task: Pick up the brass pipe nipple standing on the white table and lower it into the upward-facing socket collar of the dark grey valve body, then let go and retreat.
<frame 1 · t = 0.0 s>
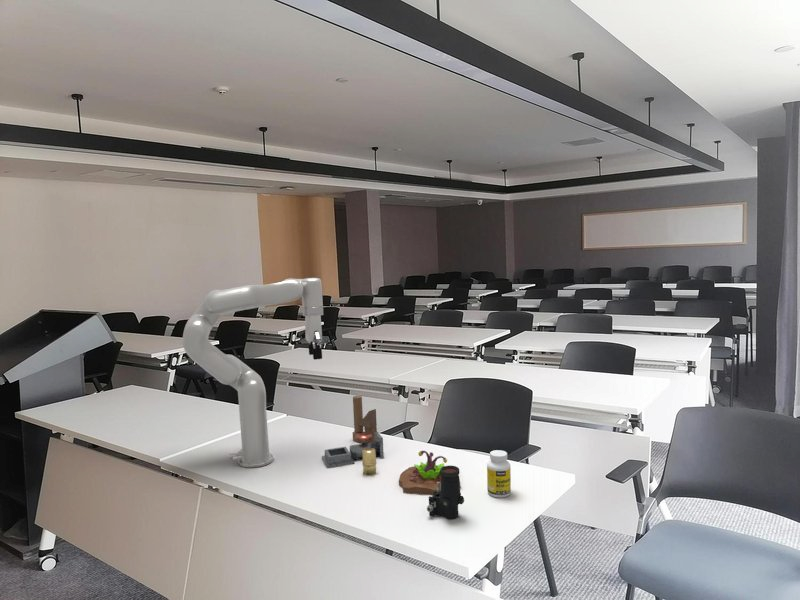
hand: (315, 356, 215), 37 cm above the table, tool pointing down, fingers open, 9 cm apart
wooden block: (365, 442, 227), on the table
nipple: (369, 473, 197), on the table
supplement bottle: (499, 493, 177), on the table
valve body: (337, 461, 208), on the table
plant: (429, 484, 187), on the table
scope: (447, 515, 164), on the table
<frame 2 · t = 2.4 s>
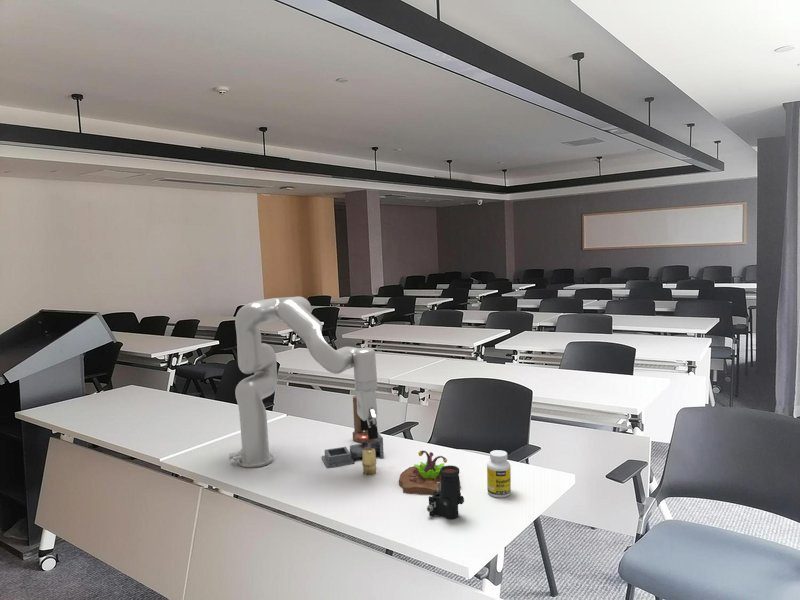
hand: (369, 434, 195), 14 cm above the table, tool pointing down, fingers open, 9 cm apart
nothing on the table moved.
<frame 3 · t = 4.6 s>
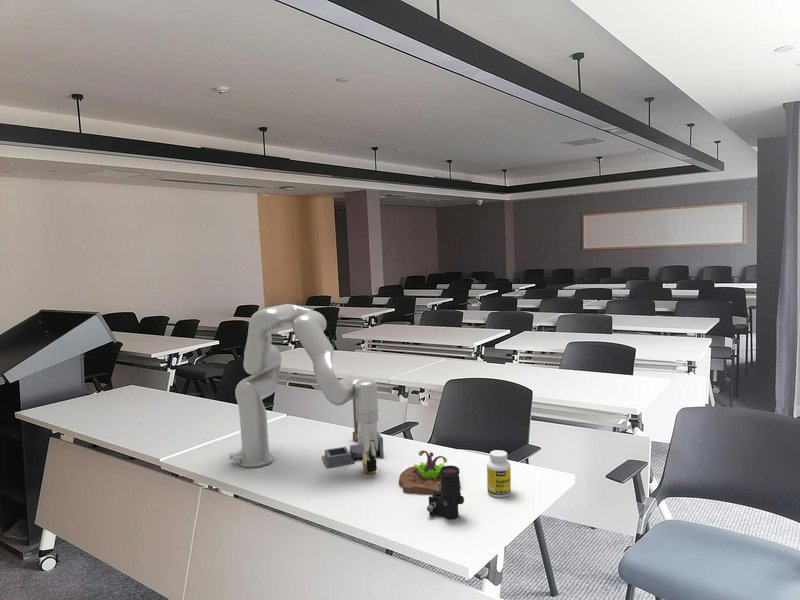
hand: (369, 467, 196), 2 cm above the table, tool pointing down, fingers closed on nipple, 4 cm apart
nipple: (369, 473, 197), on the table, touching gripper
everything else where it was.
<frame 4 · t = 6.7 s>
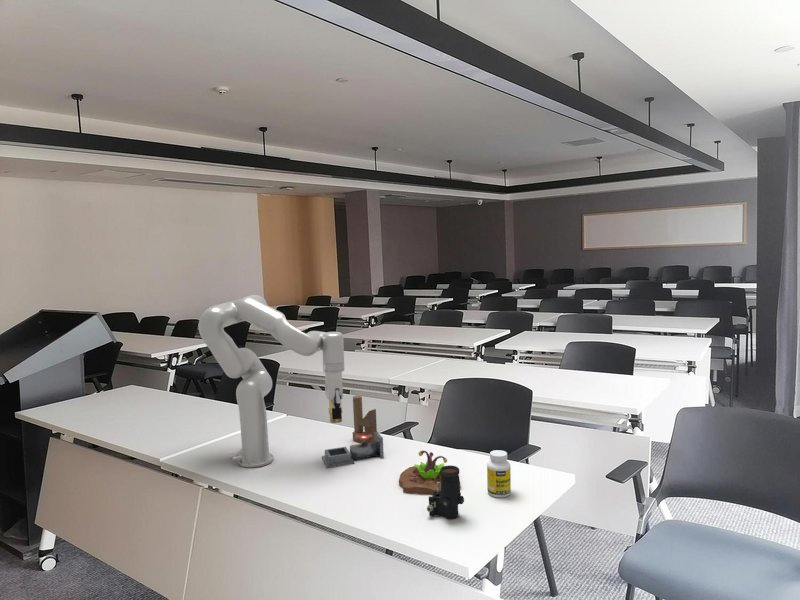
hand: (335, 416, 206), 17 cm above the table, tool pointing down, fingers closed on nipple, 4 cm apart
nipple: (335, 421, 207), point 15 cm above the table, touching gripper
everything else where it was.
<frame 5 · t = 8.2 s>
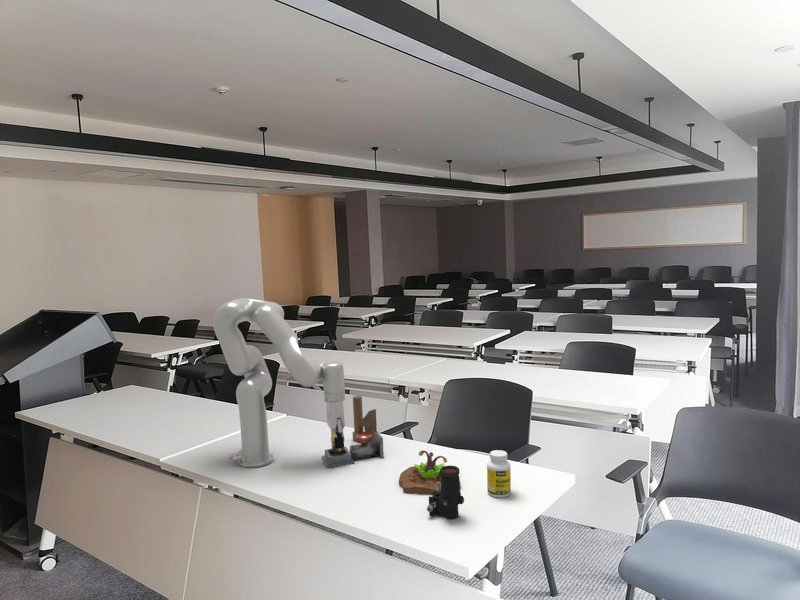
hand: (337, 444, 208), 6 cm above the table, tool pointing down, fingers closed on nipple, 4 cm apart
nipple: (338, 449, 208), point 4 cm above the table, touching gripper
everything else where it was.
when the fingers open (5 cm above the table, at t = 9.2 s): nipple drops 2 cm, resting on valve body.
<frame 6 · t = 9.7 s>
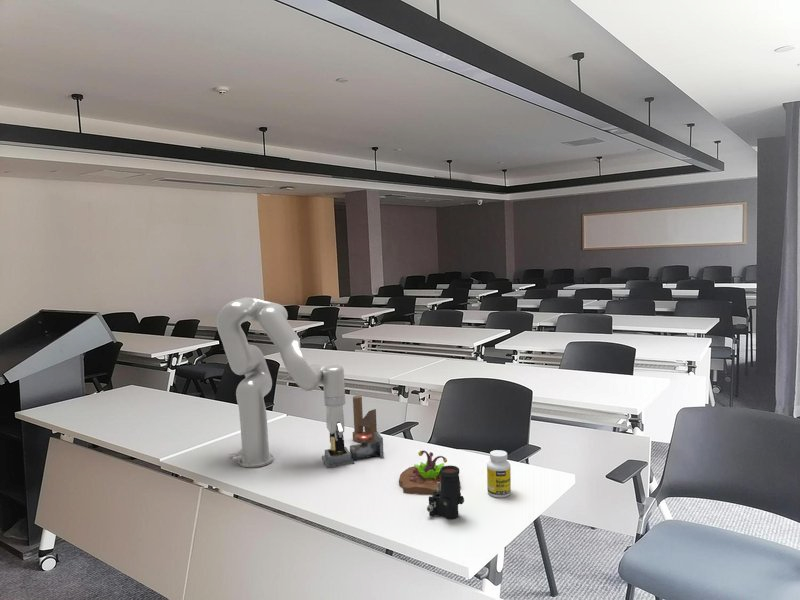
hand: (337, 446, 208), 6 cm above the table, tool pointing down, fingers open, 9 cm apart
nipple: (337, 458, 208), point 1 cm above the table, touching valve body
everything else where it was.
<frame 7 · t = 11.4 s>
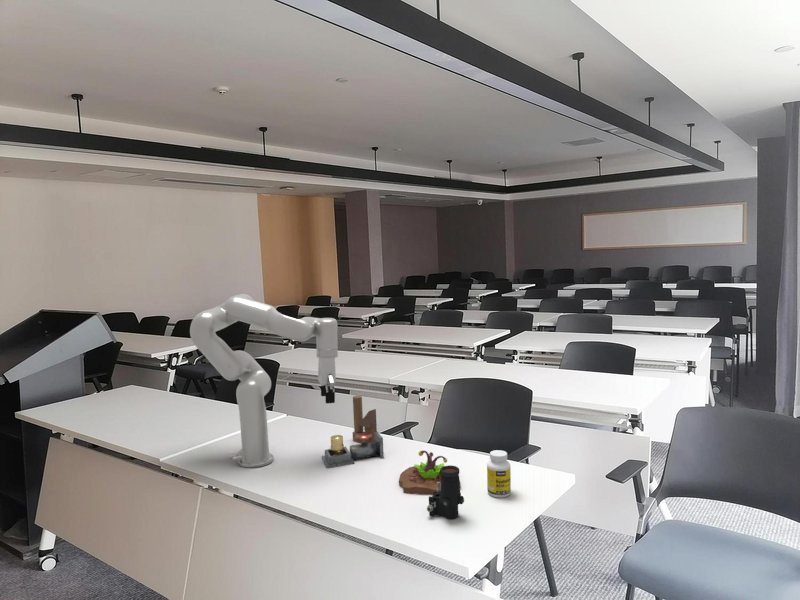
hand: (327, 399, 207), 23 cm above the table, tool pointing down, fingers open, 9 cm apart
nothing on the table moved.
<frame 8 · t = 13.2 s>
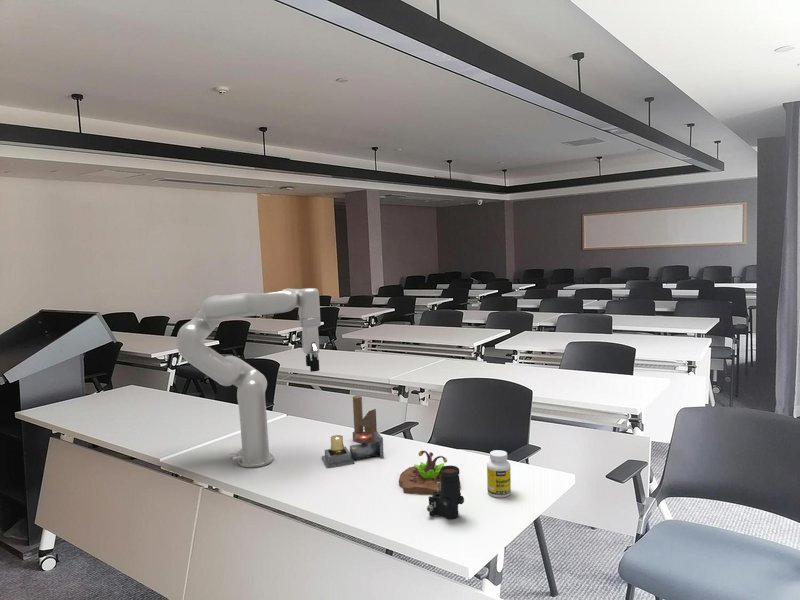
hand: (312, 368, 211), 33 cm above the table, tool pointing down, fingers open, 9 cm apart
nothing on the table moved.
at the end: nipple 0.0 cm off-centre on the valve body, point 1.0 cm above the valve body's base; nipple tilted 1°; the gripper is holding nothing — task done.
